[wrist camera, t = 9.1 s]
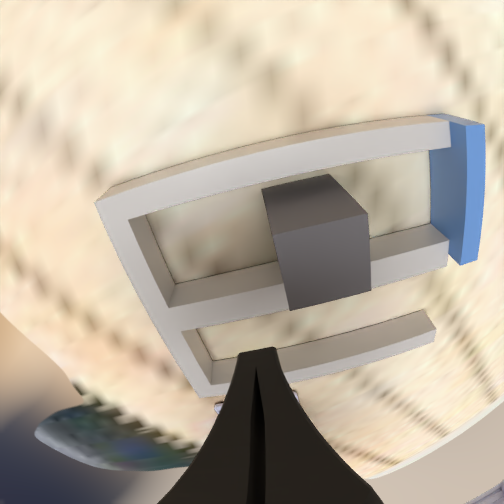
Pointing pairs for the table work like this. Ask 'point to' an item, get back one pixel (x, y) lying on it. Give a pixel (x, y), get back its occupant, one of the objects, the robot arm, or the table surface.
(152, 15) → the table surface
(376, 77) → the table surface
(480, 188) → the grey blue slatted frame
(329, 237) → the dark gray block
